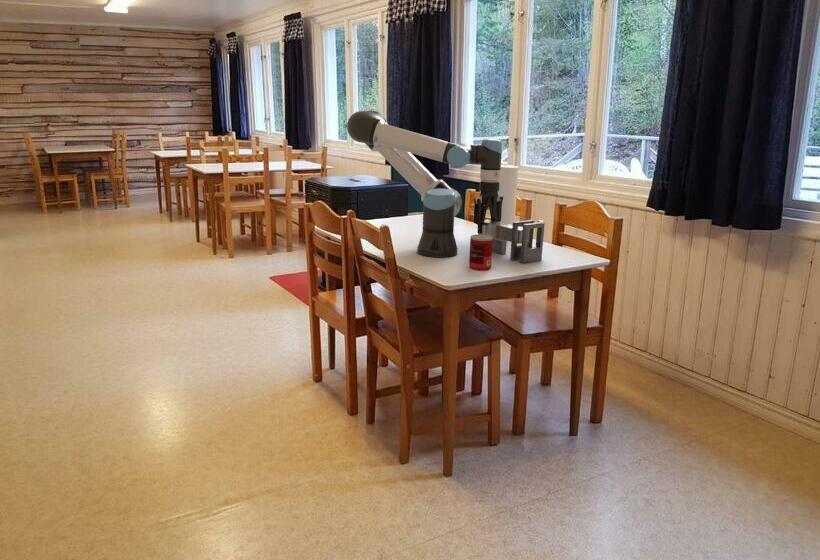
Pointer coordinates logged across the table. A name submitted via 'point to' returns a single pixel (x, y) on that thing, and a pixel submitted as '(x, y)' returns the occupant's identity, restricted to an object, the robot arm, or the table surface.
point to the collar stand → (525, 249)
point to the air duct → (502, 231)
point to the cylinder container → (508, 192)
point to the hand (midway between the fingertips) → (486, 240)
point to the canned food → (480, 252)
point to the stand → (499, 246)
